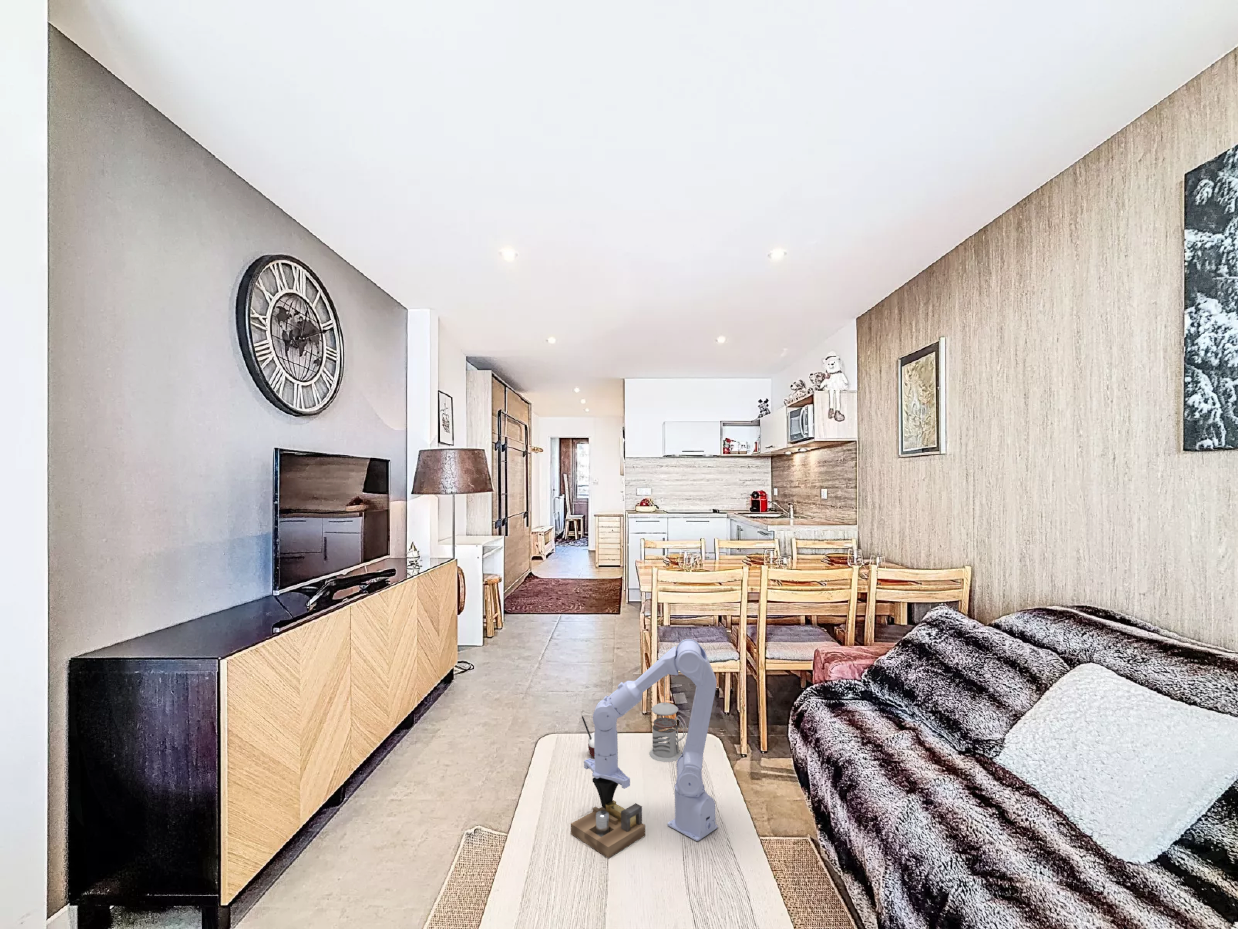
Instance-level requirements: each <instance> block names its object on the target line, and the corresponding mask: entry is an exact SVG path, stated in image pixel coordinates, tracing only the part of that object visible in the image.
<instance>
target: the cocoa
mask: <svg viewBox="0 0 1238 929" xmlns="http://www.w3.org/2000/svg"><path fill="white" fill-rule="evenodd" d="M581 719H582V722H583V725H584V727H585V729H586V732H587V735H588V739H587V743H588V744H587V748H588V751H589V754H590V756H591V757H592V758H594V759H595V751H594V732H595V731H594V732H592V733H590V731H589V729H588V725H587V722H586V719H585V718H584V716H581Z"/></svg>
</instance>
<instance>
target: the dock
mask: <svg viewBox="0 0 1238 929" xmlns="http://www.w3.org/2000/svg"><path fill="white" fill-rule="evenodd" d="M624 809H625V810H623V811H621V822H619V821H618V819H616V818H615V817H613V816H611V815H609V833H607V834H606V835H604V836H602V837H600V836H598V835H597V834H596V813H597V812H598V811H606V809H605V808H603V807H602V806H600V807H597V806H594V807H592V812H590V813H587V814H586V815H584V816H583V817H581V818H578V819H576V820H574V821H573V822H571V823H570V835H572V836H574V837H575V838H577V839H578V841H581V842H582V843H584V844H585V845H587V846H588V847H590V848H592V849H593V850H595V851H596V852H598V853H599V854H601V855H603V857H606V858H607V859H609V858H611V857H613V856H615V855H616V854H618V853H620V852H621V851H623V850H625V849H626V848H627V847H629V846H630V845H632V844H634V843H636V842H638V841H639V840H641V839H642V838H644V837H645V836H646V824H644V823H643V806H642V805H640V804H638V803H633V804H632V805H630V806H628V807H627V808H624ZM635 815H636V825H634V826H633V827H631V828H630V818H632V817H633V816H635Z"/></svg>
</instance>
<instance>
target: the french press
mask: <svg viewBox="0 0 1238 929" xmlns="http://www.w3.org/2000/svg"><path fill="white" fill-rule="evenodd" d="M668 675H669V674H667V675H665V676H664V677H663V681H664V682H663V683H664V684H663V686H664V687H663V688H664V692H663V693H664V694H663V696H664V700H663V701H664V702H659V703H657V704H655V705H653V706H652V707H651V711H652V713H654V714H655V715H657V716H664V717H659V718H655V719H654V720H653V722H652V723H653V724H652V749H651V750H650V751H649V754H648V755H649V757H650V759H652V760H655V761H657V762H663V763H671V762H675V761H676V762H677V760H678V759H679V757H680V756H681V755H682V752H681V751H680V750H679V743H680V741H682V740H683V739H684V738H685V737H686V736H687V731H685V730H688V728H687V724H686V721H685V719H684V718H683V717H682V716H681V715H680V714H679V715H677V716H675V718H671V717H669V716H673V715H675V714H677V712H678V711H679V707H678V706H676V705H675V704H673V703H669V702H666V677H667V676H668ZM666 716H667V717H666ZM679 717H680V718H681V720H682V721H683V722H682V721H681V720H680V718H679ZM677 721H679V722H680V723H681V726H682V729H683V730H682V732H683V733H682V736H681V738H679V727H678V725H677V724H678V722H677ZM683 723H684V724H683ZM684 725H685V728H684ZM664 729H665V730H664ZM659 730H660V731H659ZM661 730H662V731H661Z"/></svg>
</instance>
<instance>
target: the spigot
mask: <svg viewBox="0 0 1238 929" xmlns="http://www.w3.org/2000/svg"><path fill="white" fill-rule="evenodd" d="M607 833H609V813H608V812H607V811H598V812H597V813H596V834H597V835H598V836H600V837H602V836H604V835H606V834H607Z"/></svg>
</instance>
